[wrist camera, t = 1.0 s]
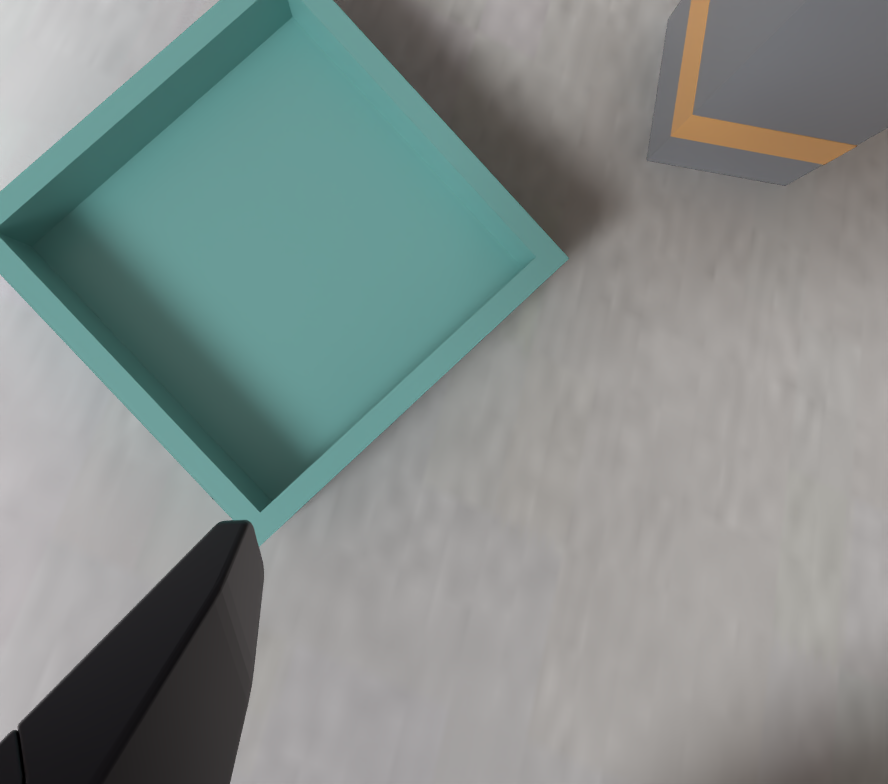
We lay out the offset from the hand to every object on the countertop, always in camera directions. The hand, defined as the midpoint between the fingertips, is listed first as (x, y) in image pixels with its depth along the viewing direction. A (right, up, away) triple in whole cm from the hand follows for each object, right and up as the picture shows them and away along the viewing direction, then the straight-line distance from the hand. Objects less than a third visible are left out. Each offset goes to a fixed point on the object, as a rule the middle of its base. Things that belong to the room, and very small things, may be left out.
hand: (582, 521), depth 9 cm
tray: (-7, +6, +14) cm, 16 cm away
